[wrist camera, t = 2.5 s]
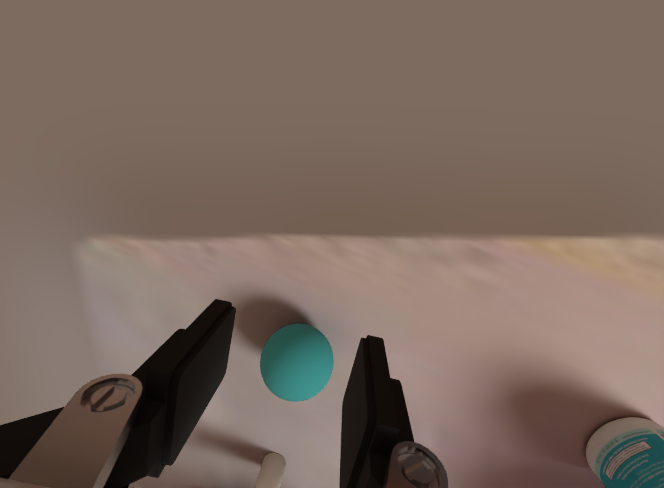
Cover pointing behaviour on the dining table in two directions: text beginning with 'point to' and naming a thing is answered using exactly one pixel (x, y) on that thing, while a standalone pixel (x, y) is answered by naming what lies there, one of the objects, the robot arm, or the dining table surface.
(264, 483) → the pin
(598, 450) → the pill bottle
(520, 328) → the dining table surface
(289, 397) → the ball
